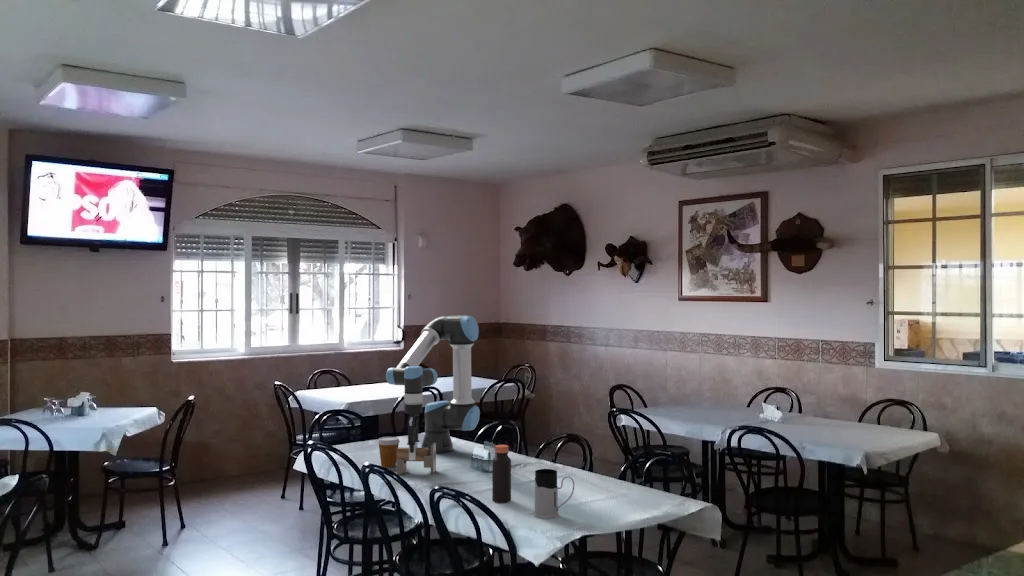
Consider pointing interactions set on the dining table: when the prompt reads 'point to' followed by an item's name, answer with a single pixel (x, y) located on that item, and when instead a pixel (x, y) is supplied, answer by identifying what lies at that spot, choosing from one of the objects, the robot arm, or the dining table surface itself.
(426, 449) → the rail
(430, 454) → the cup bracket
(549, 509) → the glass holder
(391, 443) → the disposable coffee cup
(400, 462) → the saddle
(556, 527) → the dining table surface
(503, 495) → the bottle
